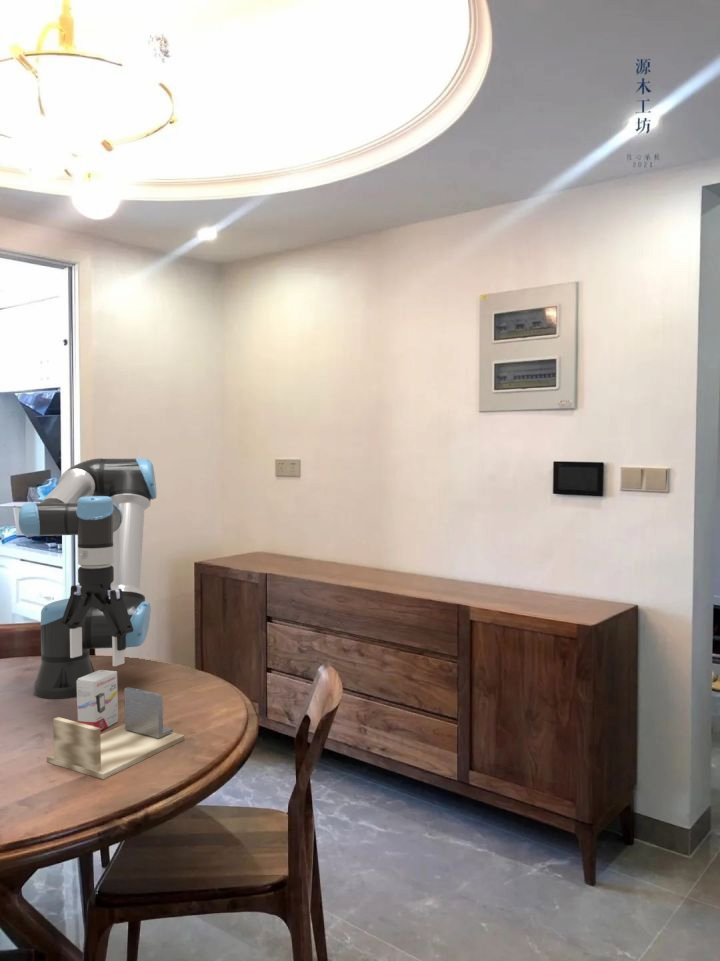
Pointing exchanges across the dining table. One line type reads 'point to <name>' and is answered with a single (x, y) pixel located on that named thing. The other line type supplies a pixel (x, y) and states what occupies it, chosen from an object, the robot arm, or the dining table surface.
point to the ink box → (98, 699)
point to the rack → (103, 747)
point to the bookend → (144, 713)
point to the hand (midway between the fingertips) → (96, 660)
